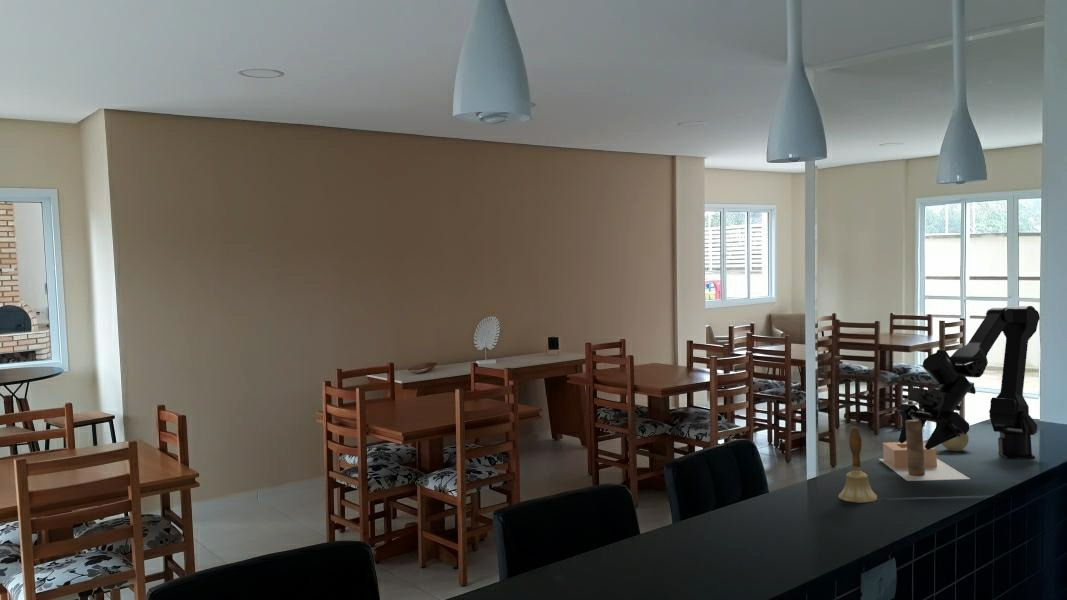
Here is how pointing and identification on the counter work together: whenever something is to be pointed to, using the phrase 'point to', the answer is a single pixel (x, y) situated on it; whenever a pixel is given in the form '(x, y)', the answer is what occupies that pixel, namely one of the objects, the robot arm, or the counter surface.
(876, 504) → the counter surface
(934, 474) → the collar plate
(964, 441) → the potato
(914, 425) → the walnut peg
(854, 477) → the hand bell
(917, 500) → the counter surface
